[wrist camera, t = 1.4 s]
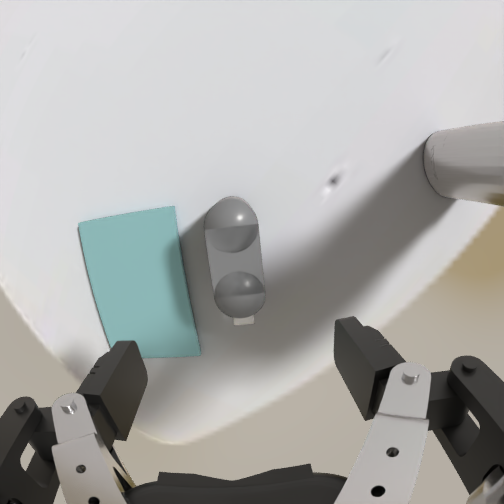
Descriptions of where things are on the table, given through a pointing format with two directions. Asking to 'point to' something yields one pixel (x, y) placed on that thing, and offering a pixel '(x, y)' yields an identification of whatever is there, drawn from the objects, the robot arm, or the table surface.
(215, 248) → the plug block
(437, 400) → the robot arm
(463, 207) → the table surface
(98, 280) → the mat
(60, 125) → the table surface
